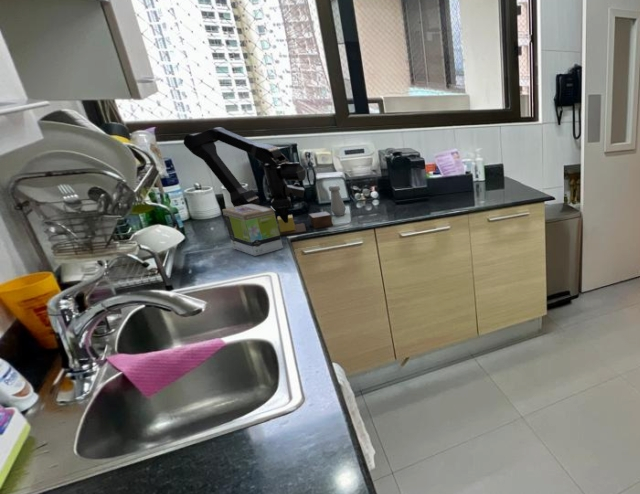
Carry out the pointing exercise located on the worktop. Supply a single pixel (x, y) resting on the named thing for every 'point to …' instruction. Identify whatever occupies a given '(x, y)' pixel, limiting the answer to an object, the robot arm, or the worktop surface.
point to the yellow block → (286, 224)
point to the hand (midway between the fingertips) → (286, 219)
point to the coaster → (299, 229)
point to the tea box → (253, 229)
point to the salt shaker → (336, 201)
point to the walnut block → (320, 219)
